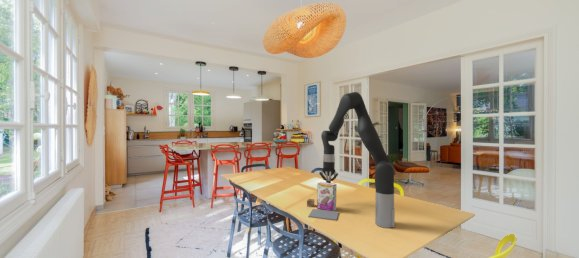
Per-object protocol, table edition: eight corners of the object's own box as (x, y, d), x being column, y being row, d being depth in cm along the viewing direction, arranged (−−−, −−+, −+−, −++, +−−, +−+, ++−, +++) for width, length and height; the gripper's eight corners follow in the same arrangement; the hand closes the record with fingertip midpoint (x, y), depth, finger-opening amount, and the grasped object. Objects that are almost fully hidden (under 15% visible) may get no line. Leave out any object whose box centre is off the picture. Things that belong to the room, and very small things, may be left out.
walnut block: (314, 205, 157) (314, 199, 157) (312, 207, 153) (313, 201, 153) (308, 204, 158) (308, 198, 158) (306, 206, 154) (306, 200, 154)
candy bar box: (316, 208, 150) (317, 182, 150) (320, 206, 154) (320, 181, 154) (333, 212, 144) (333, 185, 144) (336, 209, 148) (336, 183, 148)
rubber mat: (338, 212, 144) (338, 211, 144) (336, 220, 132) (336, 219, 132) (312, 209, 149) (312, 208, 149) (308, 216, 137) (308, 215, 137)
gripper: (317, 160, 156) (317, 187, 156) (338, 162, 152) (337, 189, 152) (320, 159, 163) (319, 184, 163) (339, 160, 159) (339, 186, 159)
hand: (328, 186), depth 158 cm, fingers closed
